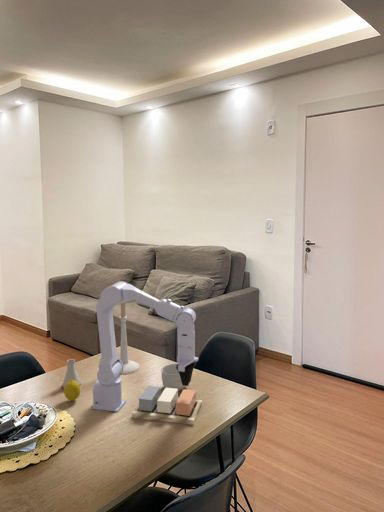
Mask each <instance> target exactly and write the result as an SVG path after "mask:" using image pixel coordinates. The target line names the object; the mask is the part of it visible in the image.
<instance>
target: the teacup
mask: <svg viewBox="0 0 384 512" xmlns="http://www.w3.org/2000/svg"><path fill="white" fill-rule="evenodd" d="M177 364H178V363H171V364H166V365H164V366H163V367H161V369H160V370H161V371H160V372H161V382H162V386H163V387H164V388H175V389H178V392H179V391H183V389H185V388H186V387H187V386H184V385H182V382H181V378H180V374H179V372H178V370H177V369H176V366H177Z"/></svg>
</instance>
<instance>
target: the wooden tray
mask: <svg viewBox="0 0 384 512" xmlns="http://www.w3.org/2000/svg"><path fill="white" fill-rule="evenodd" d="M178 399H179V397H178ZM202 405H203V400H202V399H196V402H195V405H194V406H195V408H194V410H193V412H192V413H191V417H190V416H189V417H188V416H183V415H181V416H180V415H178V414H176V408H175V409H174V411H173V412H172V413H171V414H166V413H159V412H157V407H156V408H155V409H154V410H153V412H149V411H141V410H139V403H138V404H136V406H135V408H134V409H133V411H132V412H131V418H135V419H143V420H149V421H151V420H152V421H159V422H160V421H161V422H168V423H177V424H186V425H192V426H193V425H195V423H196V420H197V417H198V416H199V413H200V410H201V408H202Z"/></svg>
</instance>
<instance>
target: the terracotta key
mask: <svg viewBox="0 0 384 512" xmlns="http://www.w3.org/2000/svg"><path fill="white" fill-rule="evenodd" d="M178 398H179V399H178V400H177V402H176V404H175V409H176V414H177V415H178V416H180V415H181V416H187V417H188V416H189V417H190V416H191V415H192V411H193V408H194V407H195V406H196V405H195V402H196V400H197V390H196V389H195V390H194V389H193V390H192V389H185V388H184V389H182V390H181V393H180V395H179V396H178Z"/></svg>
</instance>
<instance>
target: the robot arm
mask: <svg viewBox="0 0 384 512" xmlns="http://www.w3.org/2000/svg"><path fill="white" fill-rule="evenodd" d="M121 301H123V302H125V303H126V302H131V301H132V302H133V301H134V302H137V303H138V304H141V305H144V306H146V307H148V308H151V309H154V310H155V312H156V315H158V316H159V317H162V318H164V319H166V320H168V321H171V322H173V323H175V324H176V326H177V357H176V361H177V363H176V364H177V366H176V369H177V370H178V372H179V374H180V378H181V382H182V385H184V386H186V387H189V384H191V380H192V376H193V371H194V368H195V365H196V363H197V362H198V361H199V356H198V357H196V356H195V355H196V353H195V351H196V344H195V343H196V340H195V339H196V333H195V332H196V331H195V329H196V327H195V321H196V319H197V314H196V312H195V310H194V309H192V308H191V307H188V306H186V307H185V305H179V304H178V303H175V302H173V301H172V298H171V299H170V298H167V299H166V298H163V299H158V298H156V297H154V296H152V295H150V294H149V293H147V292H146V291H143V290H141V289H139V288H137V287H136V286H134V285H133V284H131V283H127V282H125V281H122V280H120V281H117V282H115V283H114V284H112V285H110V286H107V287H106V288H104V290H103V291H101V293H100V296H99V299H98V302H97V304H96V305H95V306H96V308H95V310H96V318H97V319H96V320H97V329H98V338H99V339H98V340H99V347H100V355H101V357H100V360H99V363H98V371H97V375H96V377H97V379H96V380H95V382H94V384H93V388H92V400H93V401H92V405H93V406H92V409H93V410H99V411H109V412H116V413H117V412H119V411H120V409H121V408H122V407H123V405H124V404H125V403H126V401H127V400H126V399H123V397H122V396H123V395H122V393H123V392H122V391H123V390H122V377H121V375H122V374H121V373H122V372H123V364H122V362H121V360H120V354H118V352H117V343H116V334H115V332H116V331H115V323H114V322H115V321H114V316H113V315H114V313H113V310H114V308H115V307H116V306H117V305H118V304H119V303H121Z"/></svg>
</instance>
